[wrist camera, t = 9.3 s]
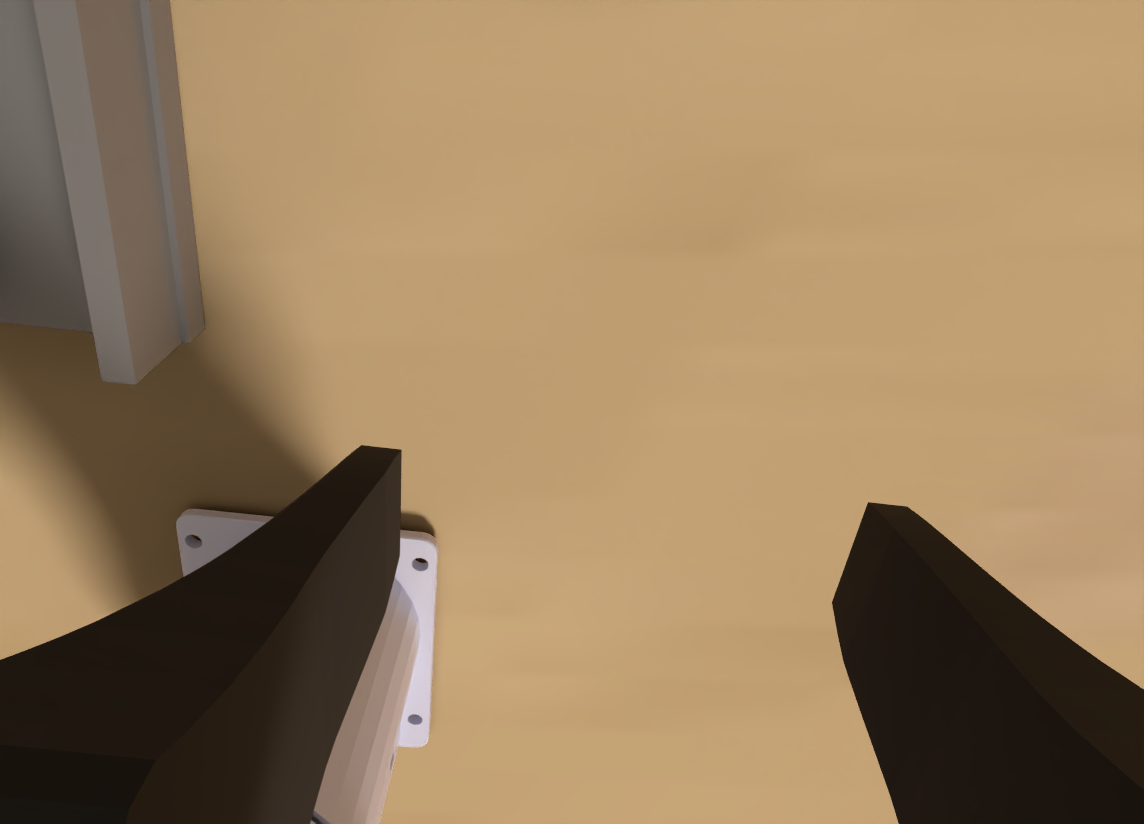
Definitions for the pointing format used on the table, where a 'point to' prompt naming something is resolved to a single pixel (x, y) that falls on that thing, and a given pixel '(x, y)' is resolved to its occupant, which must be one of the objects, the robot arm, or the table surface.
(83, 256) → the rack
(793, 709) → the table surface
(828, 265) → the table surface
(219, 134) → the table surface
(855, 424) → the table surface
